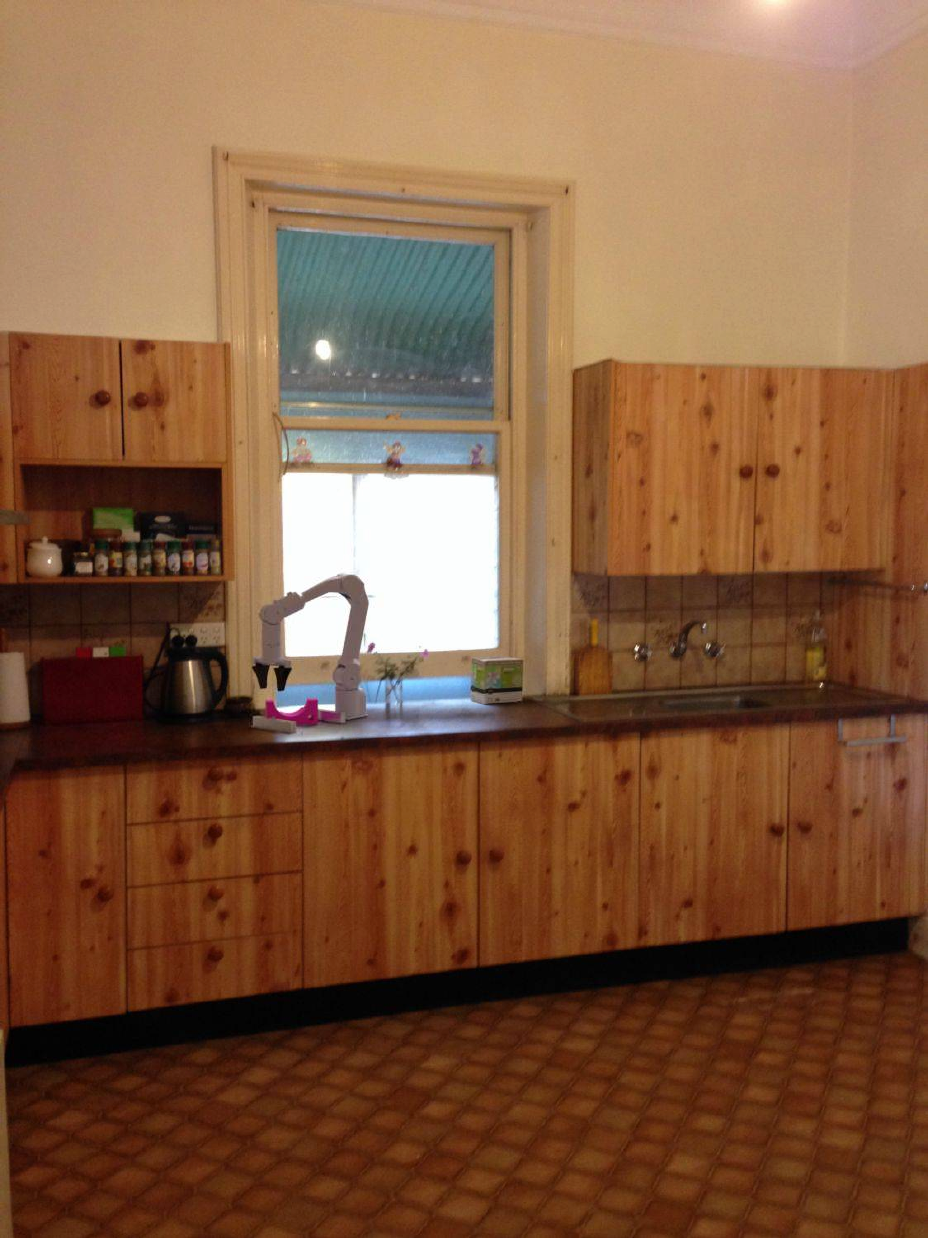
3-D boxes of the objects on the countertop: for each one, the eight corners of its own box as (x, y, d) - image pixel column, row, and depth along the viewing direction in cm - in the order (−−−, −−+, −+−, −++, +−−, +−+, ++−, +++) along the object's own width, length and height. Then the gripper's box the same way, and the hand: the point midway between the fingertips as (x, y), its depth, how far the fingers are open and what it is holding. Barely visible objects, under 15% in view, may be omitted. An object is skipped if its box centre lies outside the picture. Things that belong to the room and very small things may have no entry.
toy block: (314, 721, 328) (314, 696, 327) (318, 725, 322) (317, 700, 321) (264, 723, 324) (264, 698, 323) (267, 727, 318) (266, 701, 317)
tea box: (484, 705, 359) (485, 660, 358) (470, 700, 368) (470, 657, 367) (523, 702, 366) (523, 658, 365) (507, 697, 375) (508, 655, 374)
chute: (309, 716, 335) (309, 706, 335) (347, 722, 325) (347, 712, 325) (250, 727, 317) (250, 717, 316) (288, 733, 307) (288, 723, 307)
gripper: (244, 643, 323) (245, 689, 324) (278, 647, 315) (279, 693, 316) (262, 641, 329) (263, 686, 330) (296, 645, 320) (296, 690, 321)
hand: (272, 689), depth 323 cm, fingers open, 7 cm apart
